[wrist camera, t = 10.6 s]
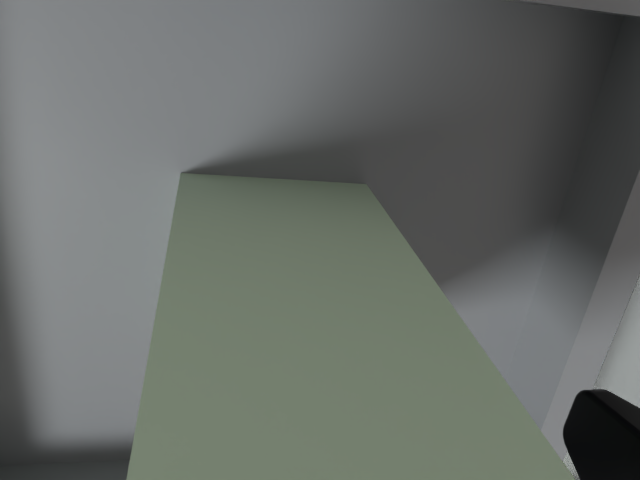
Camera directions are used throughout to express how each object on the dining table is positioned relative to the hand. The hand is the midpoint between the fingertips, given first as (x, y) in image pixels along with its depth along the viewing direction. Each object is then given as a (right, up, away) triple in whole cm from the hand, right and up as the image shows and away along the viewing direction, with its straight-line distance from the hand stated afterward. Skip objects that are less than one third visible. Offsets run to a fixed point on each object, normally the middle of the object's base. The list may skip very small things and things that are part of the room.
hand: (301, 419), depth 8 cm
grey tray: (-1, +2, +5) cm, 6 cm away
